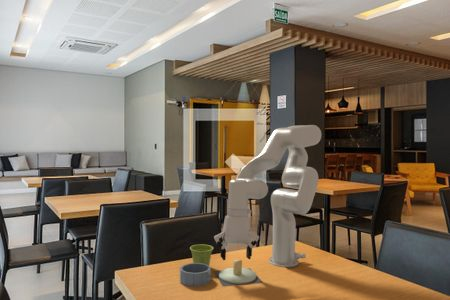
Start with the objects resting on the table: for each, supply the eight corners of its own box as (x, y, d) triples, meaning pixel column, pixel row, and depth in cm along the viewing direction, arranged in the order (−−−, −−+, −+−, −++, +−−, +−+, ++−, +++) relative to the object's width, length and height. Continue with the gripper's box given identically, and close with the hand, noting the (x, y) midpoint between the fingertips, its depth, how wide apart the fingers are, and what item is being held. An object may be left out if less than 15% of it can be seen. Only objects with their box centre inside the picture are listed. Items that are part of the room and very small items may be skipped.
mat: (250, 269, 143) (250, 268, 143) (263, 284, 129) (263, 282, 129) (213, 272, 140) (213, 271, 140) (222, 287, 125) (222, 286, 125)
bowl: (207, 275, 137) (207, 262, 137) (213, 286, 126) (213, 272, 126) (178, 277, 134) (178, 264, 134) (182, 288, 124) (182, 274, 124)
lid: (249, 268, 143) (249, 253, 143) (261, 282, 129) (261, 265, 129) (215, 271, 139) (215, 256, 139) (223, 285, 126) (224, 268, 126)
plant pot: (214, 265, 148) (214, 244, 148) (211, 273, 138) (211, 251, 138) (192, 264, 149) (192, 243, 148) (187, 272, 139) (187, 250, 139)
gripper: (256, 211, 139) (254, 255, 139) (213, 211, 135) (211, 256, 135) (263, 214, 132) (261, 260, 132) (217, 214, 128) (215, 262, 128)
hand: (236, 258), depth 133 cm, fingers open, 9 cm apart
